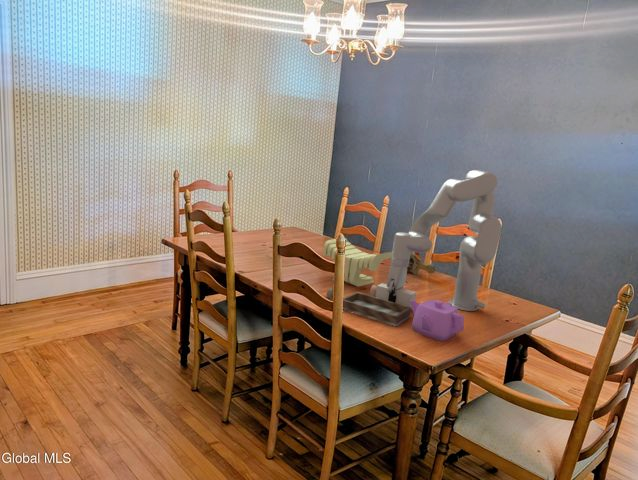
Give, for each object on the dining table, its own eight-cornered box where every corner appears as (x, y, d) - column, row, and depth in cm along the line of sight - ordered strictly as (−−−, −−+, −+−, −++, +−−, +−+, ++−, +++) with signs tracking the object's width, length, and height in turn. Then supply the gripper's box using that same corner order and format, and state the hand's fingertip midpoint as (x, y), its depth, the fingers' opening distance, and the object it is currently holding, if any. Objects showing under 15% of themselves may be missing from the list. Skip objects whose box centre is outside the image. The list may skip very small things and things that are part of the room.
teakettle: (463, 343, 174) (469, 311, 171) (418, 340, 172) (423, 308, 170) (448, 324, 190) (452, 295, 188) (406, 322, 189) (410, 292, 186)
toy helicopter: (407, 269, 266) (410, 245, 263) (437, 280, 250) (441, 254, 247) (397, 270, 261) (400, 246, 258) (427, 281, 245) (431, 256, 242)
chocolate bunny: (329, 301, 203) (332, 279, 201) (324, 295, 210) (327, 273, 208) (342, 301, 205) (344, 279, 202) (336, 295, 212) (339, 273, 210)
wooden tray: (409, 316, 194) (411, 307, 193) (395, 326, 183) (396, 316, 182) (356, 300, 207) (357, 291, 206) (339, 308, 196) (340, 299, 195)
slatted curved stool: (320, 275, 238) (324, 240, 235) (341, 270, 250) (344, 237, 246) (368, 292, 219) (373, 255, 215) (388, 286, 231) (393, 251, 227)
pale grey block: (413, 307, 205) (416, 292, 204) (409, 310, 201) (411, 294, 200) (373, 296, 215) (375, 281, 213) (368, 299, 211) (370, 283, 209)
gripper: (400, 256, 212) (394, 295, 216) (383, 263, 198) (377, 304, 202) (415, 260, 208) (410, 299, 212) (399, 267, 194) (393, 309, 198)
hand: (394, 301), depth 207 cm, fingers closed on pale grey block, 5 cm apart
